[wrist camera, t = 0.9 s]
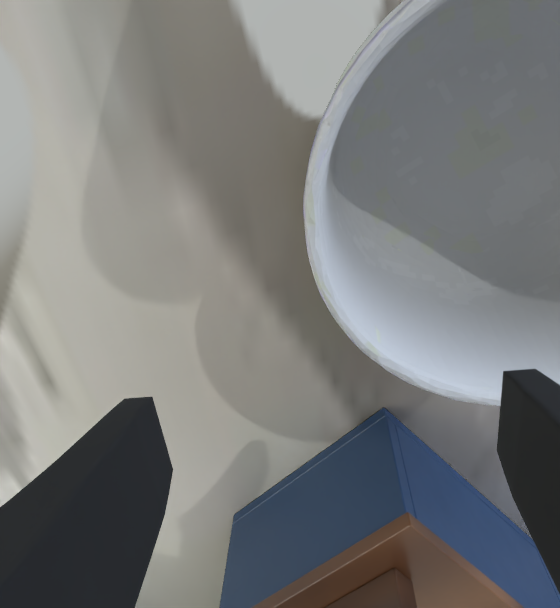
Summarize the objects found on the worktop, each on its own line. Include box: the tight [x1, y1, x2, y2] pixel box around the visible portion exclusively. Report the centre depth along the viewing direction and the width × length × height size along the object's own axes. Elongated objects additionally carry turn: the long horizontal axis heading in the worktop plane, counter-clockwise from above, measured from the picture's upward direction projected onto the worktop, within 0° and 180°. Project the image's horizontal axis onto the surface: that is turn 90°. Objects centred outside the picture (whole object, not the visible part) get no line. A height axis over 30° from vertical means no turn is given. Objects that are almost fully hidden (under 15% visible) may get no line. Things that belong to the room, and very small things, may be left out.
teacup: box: [303, 0, 560, 406], centre depth 14 cm, size 14×11×8 cm
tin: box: [219, 408, 560, 608], centre depth 24 cm, size 12×10×6 cm
